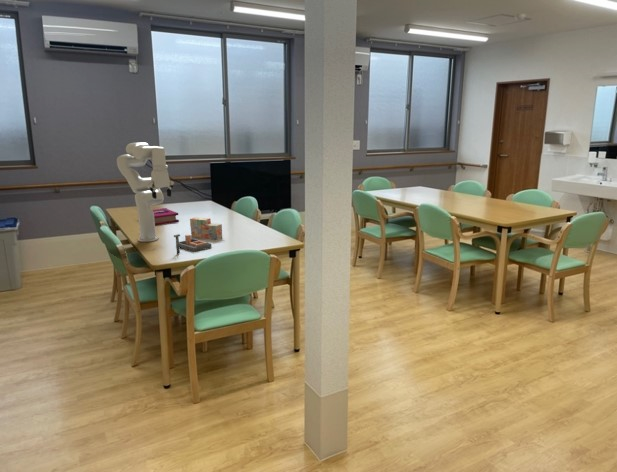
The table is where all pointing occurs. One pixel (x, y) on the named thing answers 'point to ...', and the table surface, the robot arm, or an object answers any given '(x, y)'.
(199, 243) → the orange scoop
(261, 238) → the table surface
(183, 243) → the tray
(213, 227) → the stack of blocks
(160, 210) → the book
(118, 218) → the table surface
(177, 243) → the stake
